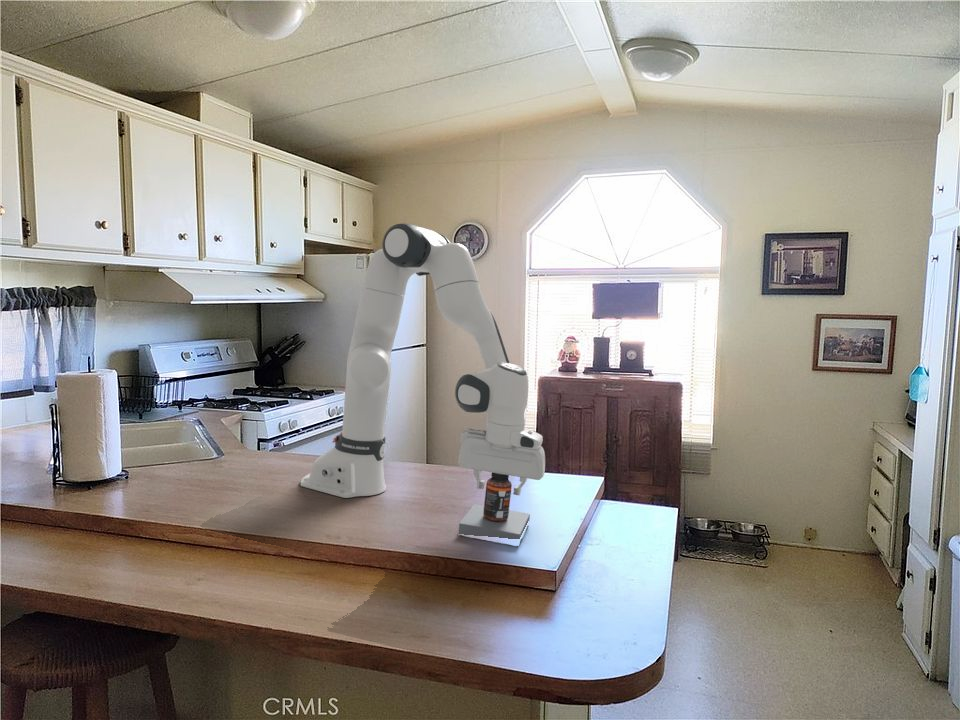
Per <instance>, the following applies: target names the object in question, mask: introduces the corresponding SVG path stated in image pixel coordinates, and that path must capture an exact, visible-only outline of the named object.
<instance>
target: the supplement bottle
mask: <svg viewBox="0 0 960 720" xmlns="http://www.w3.org/2000/svg"><path fill="white" fill-rule="evenodd" d="M509 476H510V475H504V474H499V473H492V472H491V477H490V478H488V479H487V480H486V486H485V493H484V503H483V506H484V513H483V515H484V517H485V518H486V519H488V520H491V521H496V522H502V521H505V520H507V519H508V515H509V510H510V506H511V505H510V504H511V502H510V501H511V495H512V487H513V486H512V485H513V484H512V482H511V480H510V479H509Z"/></svg>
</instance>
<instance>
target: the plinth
mask: <svg viewBox="0 0 960 720" xmlns="http://www.w3.org/2000/svg"><path fill="white" fill-rule="evenodd" d="M483 513H484V504H477V503H474V504H473V505H472V506H471V508H470V509H469V510H468V512H467V513H466V514H465V515H464V517H463V518H462V519H461V520H460V522H459V524H458V525H459V526H458V534H464V535H474V536H488V537H499V538H508V539H520V537H521V535H522V533H523V531H524V529H525V527H526V525H527V523H528V521H529V522H530V518H531V516H530V515H531V513H529V512H527V513H526V512H521V511H515V510H511V509H509V515H508V519H507V520H505V521H502V522H496V521H491V520H488V519H486V518H485V517H484V515H483ZM458 534H457V535H458Z"/></svg>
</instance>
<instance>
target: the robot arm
mask: <svg viewBox="0 0 960 720" xmlns="http://www.w3.org/2000/svg"><path fill="white" fill-rule="evenodd" d="M381 245H382V247H381V249H378V250H376V251H375V252H374V253H373V254H372V256H371V258H370V260H369V263H368V266H367V268H366V272H365V275H364V278H363V283H362V287H361V292H360V297H359V302H358V306H357V307H358V308H357V312H356V317H355V320H354V322H355V323H354V327H353V331H352V335H351V342H350V344H349V349H348V355H347V360H346V361H347V364H346V374H345V389H344V403H343V416H342V420H343V421H342V427H341V428H342V429H341V431H342V432H340V433H339V434H337V435H336V436H335V437H334V438H332V443H333V444H335V445H334V447H332V448H331V449H329V450H328V451H326V452H325V453H323V454H322V455H320V456H318V457H317V458H316V459H315V460H314V461H313V463H312V465H311V468H310V472H309V473H308V474H307V475H304V476H303V477H302V478H301V480H300V486H301V487H303V488H307V489H311V490H314V491H318V492H322V493H325V494H329V495H332V496H336V497H340V498H345V499H349V498H354V497H355V498H356V497H368V496H369V497H370V496H375V495H379V494H381V493H383V492H385V491H386V490H387V484H386V481H385V472H384V458H385V453H386V436H385V430H386V415H387V406H388V399H389V390H390V383H391V381H390V380H391V373H392V364H391V363H392V362H391V355H392V349H393V346H394V343H395V340H396V335H397V332H398V328H399V324H400V319H401V314H402V310H403V306H404V305H403V304H404V299H405V296H406V292H407V291H406V289H407V285H408V281H409V280H410V278H411V276H413V275H414V274H416V275H417V276H419V277H421V276H428V275H430V276H431V279H432V280H431V281H432V283H433V289H434V294H435V299H436V304H437V308H438V309H439V312H440V314H441V316H442V317H443V318H444V320H446V321H447V322H448V323H450V324H452V325H454V326H456V327H458V328H460V329H462V330H464V331H465V332H466V333H468V334H469V335H470V336H472V337H473V339H474V340H475V341H476V343H477V345H478V346H477V347H478V348H479V351H480V354H481V359H482V360H483V364H484V368H485V369H484V370H480V371H476V372H475V371H474V372H470V373H466V374H464V375H462V376H460V377H459V379H458V380H457V383H456V384H455V388H454V396H455V400H456V403H457V404H458V406H459V407H460V409H461V410H463V412H467V413H470V414H480V413H483V414H485V415H486V425H485V426H486V427H485V430H484V429H483V430H482V429H474V428H470V427H469V428H467V429H465V430H463V431H461V434H460V440H459V441H460V445H461V447H460V450H459V455H458V460H457V462H458V465H459V466H460V468H462V469H463V468H465V469H470V470H473V476H474V477H475V480H476V482H477V485H476V489H481V490H484V488H485V487H486V486H485V483H486V480H485V479H482V476H481V473H482V472H487V473H491V474H492V473H499V474H504V475H509V476H511V477H517V478H519V482H520V483H519V485H514V487H513V493H512V494H513V495H514V496H515V495H516V496H521V494H522V493H521V492H522V487H523V486H524V485H525V484H526V482H527V480H528V479H530V480H535V481H540V480H542V478H544V476H545V473H546V472H545V471H546V453H545V450H544V449H545V448H544V447H543V445H542V444H543V441H544V439H543V438H544V436H543V435H542V434H540V433H538V432H537V431H534V430H532V429H530V428H528V427H526V418H525V412H526V408H527V406H528V399H529V397H528V396H529V377H528V373H527V370H525V368H523V367H522V366H520V365H518V364H515V363H510V360H509V358H508V354H507V351H506V348H505V345H504V342H503V338H502V336H501V333H500V330H499V327H498V325H497V322H496V320H495V317H494V315H493V314H492V312H491V311H490V309H489V307H488V305H487V303H486V301H485V298H484V295H483V292H482V289H481V285H480V281H479V276H478V272H477V270H476V267H475V263H474V261H473V258H472V256H471V254H470V251H469V248H467V247H466V246H464V245H463V244H461V243H457V242H451V241H450V240H449V239H448V238H447V237H446V236H444V235H443V234H440V233H437V232H436V231H434V230H432V229H430V228H428V227H422V226H417V225H414V224H411V223H405V222H403V223H396V224H393V225H391V226H390V227H389V228H388V229H387V230H386V232H385V233H384V235H383V239H382V244H381Z"/></svg>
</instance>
